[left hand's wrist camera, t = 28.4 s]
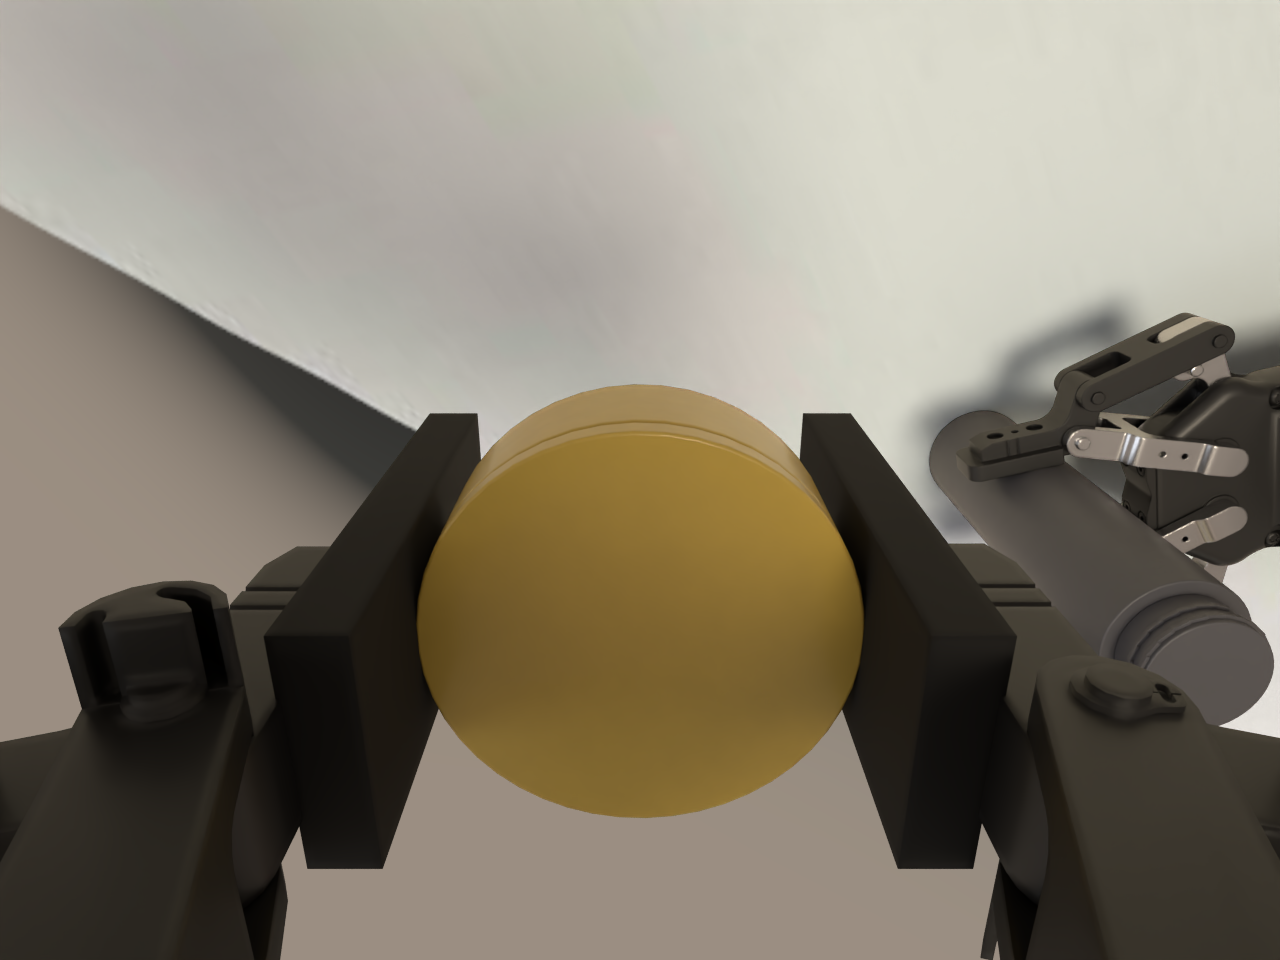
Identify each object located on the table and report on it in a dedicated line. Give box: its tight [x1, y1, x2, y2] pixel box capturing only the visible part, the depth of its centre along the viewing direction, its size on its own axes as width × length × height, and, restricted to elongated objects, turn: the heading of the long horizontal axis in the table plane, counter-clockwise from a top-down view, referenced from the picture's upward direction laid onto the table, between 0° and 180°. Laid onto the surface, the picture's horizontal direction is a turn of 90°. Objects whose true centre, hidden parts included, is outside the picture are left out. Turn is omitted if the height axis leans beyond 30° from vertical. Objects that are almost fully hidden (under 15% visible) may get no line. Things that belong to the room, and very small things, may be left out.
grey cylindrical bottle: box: [930, 411, 1274, 726], centre depth 34 cm, size 5×5×19 cm
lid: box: [416, 384, 864, 818], centre depth 11 cm, size 5×5×2 cm
